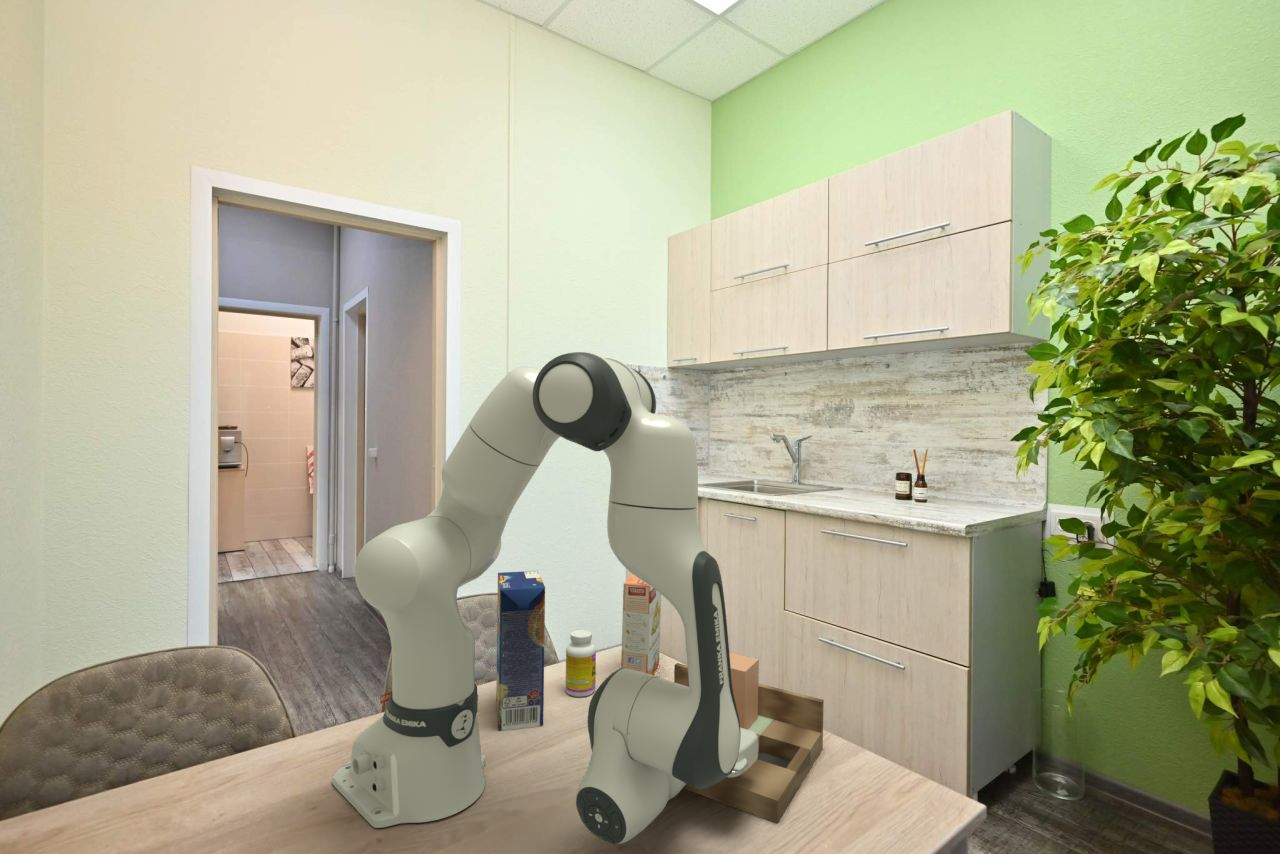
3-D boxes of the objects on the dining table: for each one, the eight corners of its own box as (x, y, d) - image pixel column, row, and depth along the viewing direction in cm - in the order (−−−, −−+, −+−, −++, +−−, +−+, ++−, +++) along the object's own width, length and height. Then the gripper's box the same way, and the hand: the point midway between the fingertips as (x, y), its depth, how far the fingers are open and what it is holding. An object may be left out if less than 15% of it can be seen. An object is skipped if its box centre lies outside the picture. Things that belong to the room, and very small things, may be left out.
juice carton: (543, 726, 106) (545, 587, 105) (498, 731, 104) (500, 590, 103) (536, 695, 117) (538, 570, 117) (496, 699, 115) (497, 572, 115)
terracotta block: (710, 723, 102) (711, 663, 101) (724, 709, 107) (725, 651, 107) (744, 733, 98) (745, 671, 98) (757, 718, 103) (758, 659, 103)
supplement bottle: (596, 697, 117) (596, 638, 117) (565, 698, 116) (566, 639, 116) (594, 684, 123) (595, 627, 123) (565, 685, 122) (566, 628, 122)
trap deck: (609, 760, 95) (609, 709, 95) (676, 705, 114) (677, 662, 114) (777, 823, 81) (778, 763, 81) (822, 748, 100) (823, 699, 100)
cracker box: (649, 691, 120) (651, 584, 120) (619, 688, 121) (621, 582, 121) (661, 663, 134) (663, 567, 133) (634, 660, 135) (635, 566, 135)
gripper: (738, 753, 78) (774, 709, 89) (604, 711, 88) (652, 677, 100) (737, 802, 78) (773, 752, 90) (604, 754, 88) (652, 715, 100)
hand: (708, 712), depth 95 cm, fingers closed
